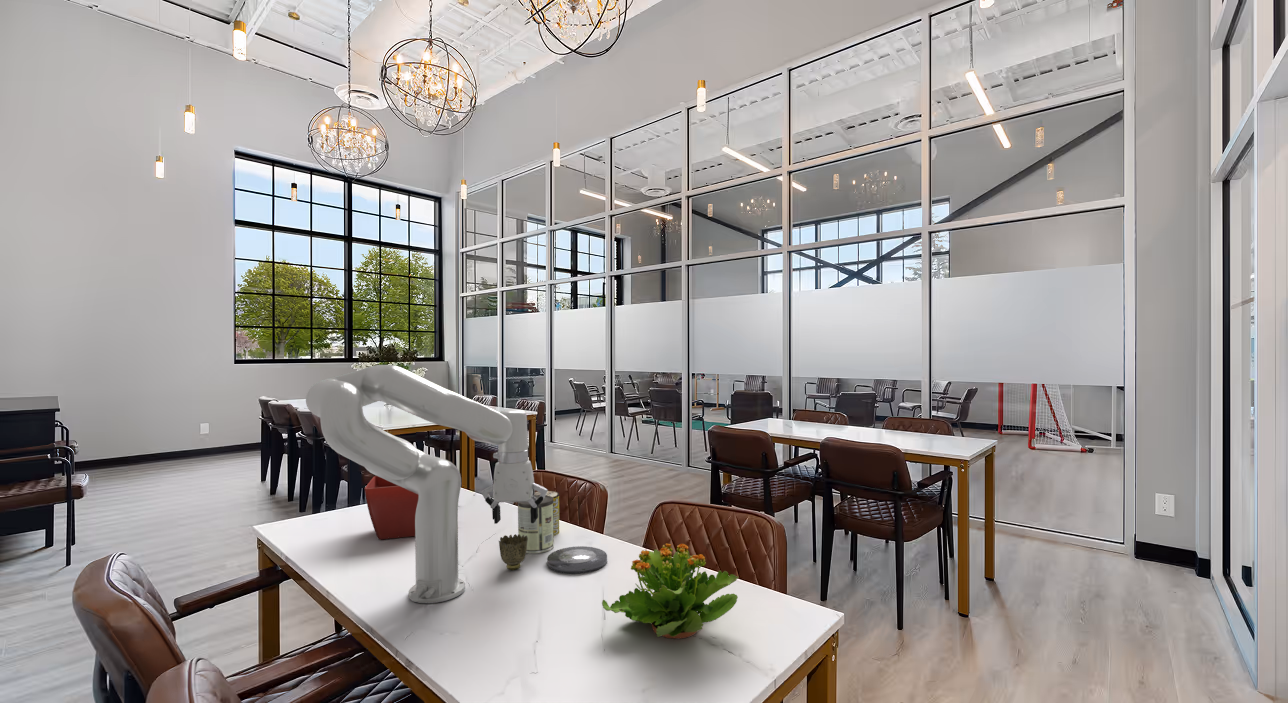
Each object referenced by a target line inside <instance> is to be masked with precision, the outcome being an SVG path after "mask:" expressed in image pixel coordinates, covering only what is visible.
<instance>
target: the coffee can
mask: <svg viewBox="0 0 1288 703" xmlns="http://www.w3.org/2000/svg"><path fill="white" fill-rule="evenodd" d="M534 496H535V498H536V499H538V498H539V497H540V495H534ZM516 503H517V528H518V530H517V531H518V532H517V533H518V534H519V535H520V536H521V537H522V536H523V535H524V537H525V536H527V537H528V541H527V550H526V554H529V555H531V554H543V553H547V552H549V551H551V550H553V549H554V546H555V543H554V537H555V536H553V497H551V496H547V495H546V496H545V498H544V499H543V501H542V502H541V503H540V504H539V505H538V519H536V521H535V522H534V523H531V512H530V509H531V507H532V506H531V505H530V503H529V502H528V501H527V502H516ZM518 534H517V535H518Z"/></svg>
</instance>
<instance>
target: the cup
mask: <svg viewBox="0 0 1288 703" xmlns="http://www.w3.org/2000/svg"><path fill="white" fill-rule="evenodd" d="M527 541H528V537H527V536H525V537H524V535H523V536H522V537H521V536H520V535H519V534H514V535H512V534H510V535H509V536H508V535H503V537H499V540H498V546H499V553H500V557H501V561H502V562H503V563H504V564H505V565H506V569H507V570H508V571H512V572H513V571H517V570H519V569H520V568H521V566H522V564H521V563H522V562H523V561H524V560H525V558H526V557H527V556H526V554H527V553H526V550H527Z"/></svg>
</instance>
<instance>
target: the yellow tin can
mask: <svg viewBox="0 0 1288 703" xmlns="http://www.w3.org/2000/svg"><path fill="white" fill-rule="evenodd" d="M540 494H541V493H540V492H538V491H535V494H534V495H540ZM546 495H547V496H551V497H553V536H554V537H555V536H557V535H558V534H560V493H559V492H557V491H554V490H548V491H547V493H546Z"/></svg>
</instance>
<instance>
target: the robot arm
mask: <svg viewBox="0 0 1288 703" xmlns="http://www.w3.org/2000/svg"><path fill="white" fill-rule="evenodd" d="M377 402H383V403H385V404H387V405H389V406H392V407H394V408H397V409H400V410H401V411H404V412H407V413H408V414H411V415H412V416H416V417H417V418H420V419H422V420H425V421H427V422H430V423H432V424H434V425H435V424H436V425H438V426H443V427H448V428H452V429H455V430H458V431H461V432H464V433H465V434H466V435H467V437H468V438H470V439H471V440H473V441H475V442H481V443H486V444H490V445H494V446H498V448H497V449H498V451H497V452H494V453H493V455H492V457H493V459H497V462H496V463H495V464H494V465H495V466H494V472H493V484H492V485H490V486H488V487H486V488H485V489H482V491H481V494H482V496H483V498H484V501H485V503H486V504H487V505H489V507H490V508H491V509H492V510H491V511H492V512H491V513H492V520H494V525H495V524H496V525H497V524H498V523H499V522H501V518H502V517H501V506H500V504H499V503H517V502H527V501H528V502H529V503H530V505H531V506H532V507H531V509H530V512H531V523H534V522H535V521H536V519H538V505H539V504H540V503H541V502H542V501H543V499H544V498H545V496H546V493H547V491H549V489H547V488H546V487H544V486H542V485H540V484H537V483H535V477H534V471H533V466H532V462H531V460H529V450H528V448H529V446H528V444H529V442H528V416H527V413H526V411H525V410H523V409H516V408H515V409H514V408H513V409H505V410H501V411H497V410H495V409H493V408H491V407H489V406H487V405H485V404H482V403H480V402H478V401H475V400H472V399H470V398H468V397H465V396H463V395H462V394H459V393H457V392H455V391H452V390H450V389H448V388H445V387H443V386H441V385H439V384H436V383H435V382H433V381H430V380H428V379H427V378H424V377H422V376H420V375H418V374H416V373H415V372H412V371H410V370H407V369H405V368H404V367H401V366H398V365H393V364H376V365H372V366H368V367H366V368H361V369H358V370H354V371H351V372H347V373H344V374H340V375H337V376H333V377H328V378H325V379H322V380H319V381H317V382H316V383H314V384H313V385H312V386H311V387H309V389H308V390H307V392H306V396H305V404H306V407H307V409H308V410H309V412H310V413H312V415H314V416H316V417H318V418H319V419H320V428H321V433H322V435H323V438H324V440H325V442H326V443H327V445H328V446H329V447H330V448H331V449H332V450H333V451H335V452H336V453H337V454H338V455H341V456H342V457H344V458H346V459H349V460H351V461H352V462H354V463H356V464H358V465H359V466H362V467H364V468H365V469H366V471H367V472H369V473H370V474H373V475H375V476H378V477H381V478H383V479H385V480H387V481H389V482H392V483H394V484H396V485H398V486H400V487H403V488H405V489H407V490H409V491H412V492H414V493H416V494H418V495H419V498H418V504H417V508H416V514H415V536H414V539H415V541H414V542H415V543H414V544H415V545H414V546H415V548H414V549H415V553H414V554H415V555H414V556H415V561H414V562H415V584H414V585H412V586H411V587H410V588H409V590H408V598H409V600H411V601H412V602H415V603H419V604H436V603H437V604H438V603H442V602H446V601H449V600H453V599H454V598H457V597H458V596H460V595H461V594H463V593H464V592H465V590H466V582H465V580H463V579H461V578H459V520H458V519H459V502H460V501H459V499H460V493H461V489H462V477H461V476H462V475H461V473H460V470H459V469H458V467H457V466H456V465H455V464H454V463H453V462H452V461H450V460H448V459H445V458H442V457H438V456H434V455H431V454H428V453H425V452H424V451H422V450H420V449H418V448H416V447H415V446H414V445H413V444H412V443H411V442H410V441H408V440H406V439H404V438H401V437H398V436H396V435H393V434H391V433H390V432H387V431H386V430H383V429H382V428H380V427H378V426H377V425H375V424H373V423H371V422H370V421H369V420H367V418H366V416H365V414H364V410H363V407H366V406H368V405H371V404H373V403H374V404H375V403H377ZM491 492H492V496H491V495H490V493H491ZM535 492H540V493H541V494H540V497H539V498H538V499H536V498H535V496H534V494H535Z"/></svg>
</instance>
